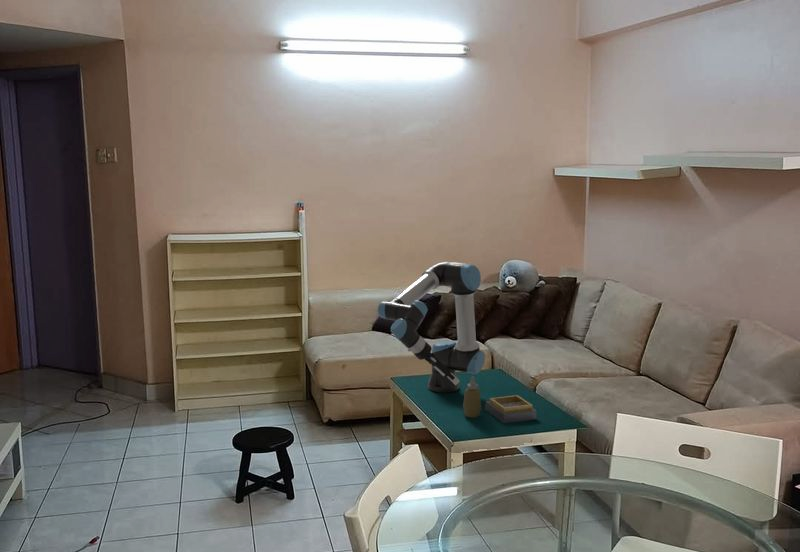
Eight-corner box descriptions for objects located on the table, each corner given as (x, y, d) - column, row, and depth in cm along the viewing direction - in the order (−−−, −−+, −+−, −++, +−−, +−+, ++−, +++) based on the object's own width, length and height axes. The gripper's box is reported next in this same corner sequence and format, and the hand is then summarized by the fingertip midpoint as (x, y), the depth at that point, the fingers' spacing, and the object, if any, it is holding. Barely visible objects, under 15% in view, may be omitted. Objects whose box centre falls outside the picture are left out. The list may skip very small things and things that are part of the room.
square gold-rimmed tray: (485, 409, 356) (485, 397, 355) (516, 406, 361) (517, 393, 360) (503, 423, 339) (503, 410, 338) (536, 419, 344) (536, 406, 343)
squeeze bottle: (480, 419, 343) (481, 380, 340) (461, 418, 345) (462, 378, 342) (481, 413, 351) (483, 374, 348) (463, 411, 353) (464, 373, 350)
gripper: (403, 346, 345) (434, 376, 352) (424, 362, 322) (457, 393, 329) (415, 334, 346) (446, 364, 353) (436, 348, 323) (469, 380, 330)
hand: (451, 378), depth 341 cm, fingers open, 13 cm apart
